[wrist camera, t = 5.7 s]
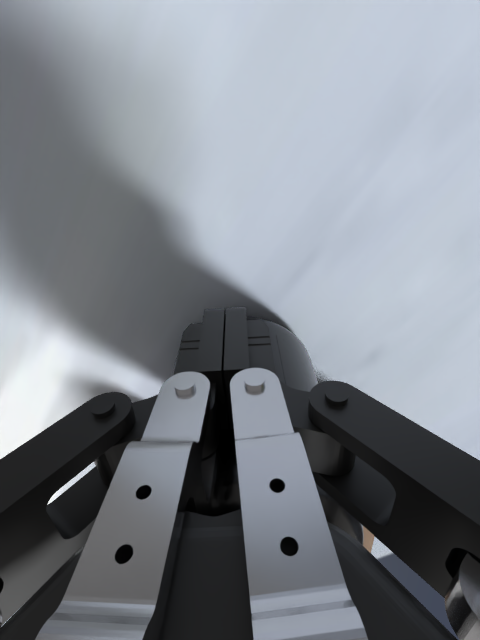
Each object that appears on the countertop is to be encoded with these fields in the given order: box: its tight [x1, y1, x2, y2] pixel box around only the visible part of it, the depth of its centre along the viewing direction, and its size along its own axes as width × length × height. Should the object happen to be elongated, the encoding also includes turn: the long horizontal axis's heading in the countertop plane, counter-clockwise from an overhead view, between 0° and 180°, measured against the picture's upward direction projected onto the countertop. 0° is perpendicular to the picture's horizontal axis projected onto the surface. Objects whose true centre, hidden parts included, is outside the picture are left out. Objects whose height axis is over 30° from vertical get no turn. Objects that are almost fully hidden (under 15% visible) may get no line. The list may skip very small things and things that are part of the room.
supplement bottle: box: [172, 317, 364, 545], centre depth 12 cm, size 7×7×12 cm
